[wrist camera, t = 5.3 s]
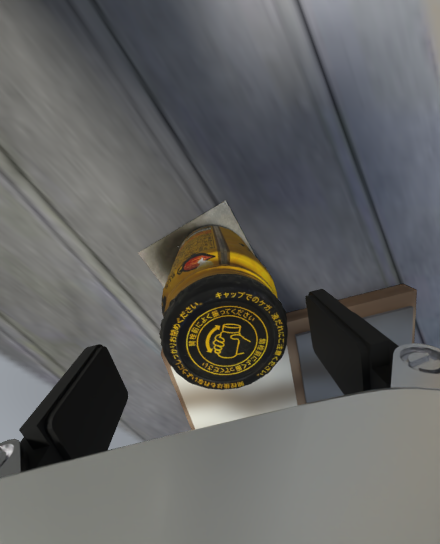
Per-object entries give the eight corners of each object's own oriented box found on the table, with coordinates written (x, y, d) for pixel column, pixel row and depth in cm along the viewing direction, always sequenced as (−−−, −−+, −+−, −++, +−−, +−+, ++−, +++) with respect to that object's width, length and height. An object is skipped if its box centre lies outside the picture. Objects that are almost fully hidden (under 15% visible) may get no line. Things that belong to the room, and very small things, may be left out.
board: (163, 343, 23) (160, 356, 21) (403, 283, 22) (419, 291, 21) (201, 439, 27) (201, 456, 26) (400, 391, 27) (413, 404, 25)
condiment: (264, 272, 21) (335, 366, 10) (185, 316, 22) (166, 447, 11) (225, 199, 19) (258, 212, 7) (138, 251, 20) (51, 332, 8)
